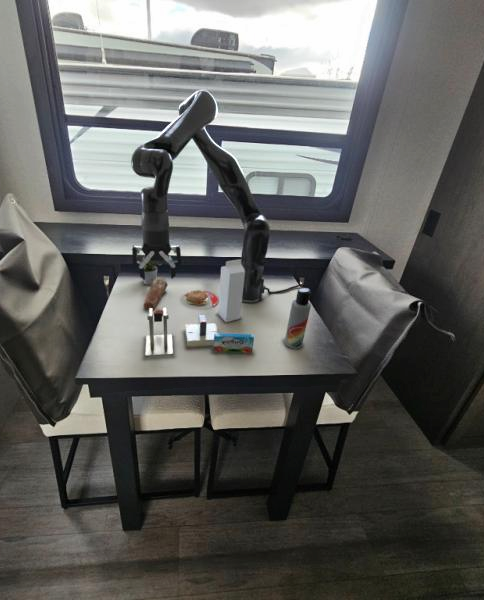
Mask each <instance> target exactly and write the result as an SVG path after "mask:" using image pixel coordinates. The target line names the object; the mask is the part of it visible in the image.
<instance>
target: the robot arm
mask: <svg viewBox="0 0 484 600" xmlns="http://www.w3.org/2000/svg"><path fill="white" fill-rule="evenodd" d="M217 115H218V104H217V102H216V99H215V98H214V96H213V94H211V93H210V92H209V91H208V90H206V89H199V90H197V91H195V92H194V93H193V94H191V95H190V96H189V97H187V99H185V100H184V101H182V103H180V104H179V107H178V117H177V118H176V119H175V120H173V121H171V122H170V124H168V125H167V126H166V127H165V128H164V129H163V130H162V131H161V132H160V133H159V134H158V135H157V136H156V137H155V138H153V139H150V140H148V141H146V142H144V143H143V144H141V145H139V146H138V147H137V148H136V149H135V150H134V151H133V153H132V155H131V159H130V160H131V161H130V164H131V168H132V171H133V172H134V173H135V174H136V175H138V176H139V177H142V178H149V179H154V183H153V185H152V186H146V187H143V188H142V189H141V191H140V205H141V232H142V233H141V235H142V244H143V246H142V245H137V244H133V245H132V248H131V253H132V254H131V256H132V258H131V260H132V266H133V267H134V268H138V269H139V278H141V279H142V278H143V279H142V281H143V280H145V267H144V266H145V265H146V264H147V262H148V261H149V260H151V262H152V261H154V262H158V261H159V262H163V261H165V262H166V263H167V264H168V265H169V266H170V279H172V280H173V279H174V278H175V277H176V269H177V267H180V266H182V253H181V246H180V244H178V243H177V244H176V245H171V244H170V219H169V211H168V193H169V189H170V184H171V178H172V176H173V171H174V160H175V159H177V157H179V155H180V154H181V153H182V151H183V150H184V149H185V148H186V147H187V145H188V144H189V143H190V142H191V140H192V141H193V142H194V143H195V145H196V147H197V149H198V150H199V152H200V153H201V155H202V157H203V158H204V160H205V162H206V164H207V165H208V167H209V169H210V171H211V173H212V175H213V177H214V179H215V181H216V183H217V185H218V187H219V188H220V190H221V191H222V192H223V194H224V195H225V197H226V198H227V199H228V201H229V202H230V203H231V205H233V207H234V208H235V210H236V212H237V214H238V216H239V218H240V222H241V223H242V226H243V238H242V240H243V241H242V249H241V253H240V254H241V255H240V259H241V265H242V267H243V268H244V270H245V276H244V285H243V295H242V302H244V303H249V304H251V303H252V304H253V303H257V302H259V301H262V298H263V294H265V291H267V293H268V294H270V295H271V294H280V293H284V292H287V291H290V290H293V289H296V288H299V287H302V288H307V285H305V284H304V283H299V284H297V285H293V286H290V287H288V288H284V289H281V290H276V291H270V288H268V287H266V286H265V284H264V283H265V279H264V271H265V270H264V269H265V263H266V257H267V254H268V249H269V241H270V236H271V235H270V233H271V227H270V224H269V222H268V219H267V218H266V216H265V215H264V214H263V213H262V211H261V210H260V208H259V206H258V204H257V202H256V201H255V199H254V197H253V194H252V191H251V189H250V186H249V183H248V180H247V178H246V176H245V174H244V172H243V169H242V168H241V165H240V164H239V162H238V160H237V159H236V157H235V156H234V155H232V153H230V152H229V151H227V150H225V149H224V148H222V147H221V146H219V145H218V144H217V143H216V142H215V141H214V140H213V139H212V138H211V136H210V135H209V133H208V132H207V130H206V127H207V126H209V125H210V124H211V123H212V122H214V120H215V119H216V118H217ZM171 251H173V253H174V254H176V260H174V259H173V258H172V257H171V255H170V253H171ZM140 252H142V253H143V254H144V255H143V256H142V257H143V259H141V260H140V262H138V261H139V260H138V255H140V254H141V253H140Z"/></svg>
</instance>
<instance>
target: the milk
mask: <svg viewBox="0 0 484 600" xmlns="http://www.w3.org/2000/svg"><path fill="white" fill-rule="evenodd" d="M244 276H245V270H244V268H243V267H242V265H241V258H239V259H234V260H227V261H225V265H223V266H221V267H220V276H219V277H220V279H219V293H218V308H217V315H218V316H219V317H220V318H221V319H222V320H223V321H224V322H225V323H229V322H232V321H237V320H240V319H241V314H242V313H241V312H242V302H243V301H242V295H243V285H244Z"/></svg>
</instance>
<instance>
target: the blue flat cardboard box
mask: <svg viewBox="0 0 484 600" xmlns="http://www.w3.org/2000/svg"><path fill="white" fill-rule="evenodd" d="M254 341H255V336H254V334H252V333H222V332H221V333H215V334H214V343H213V345H212V351H219V352H220V351H221V352H222V351H223V352H224V351H225V352H226V354H252V353H253V349H254Z"/></svg>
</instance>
